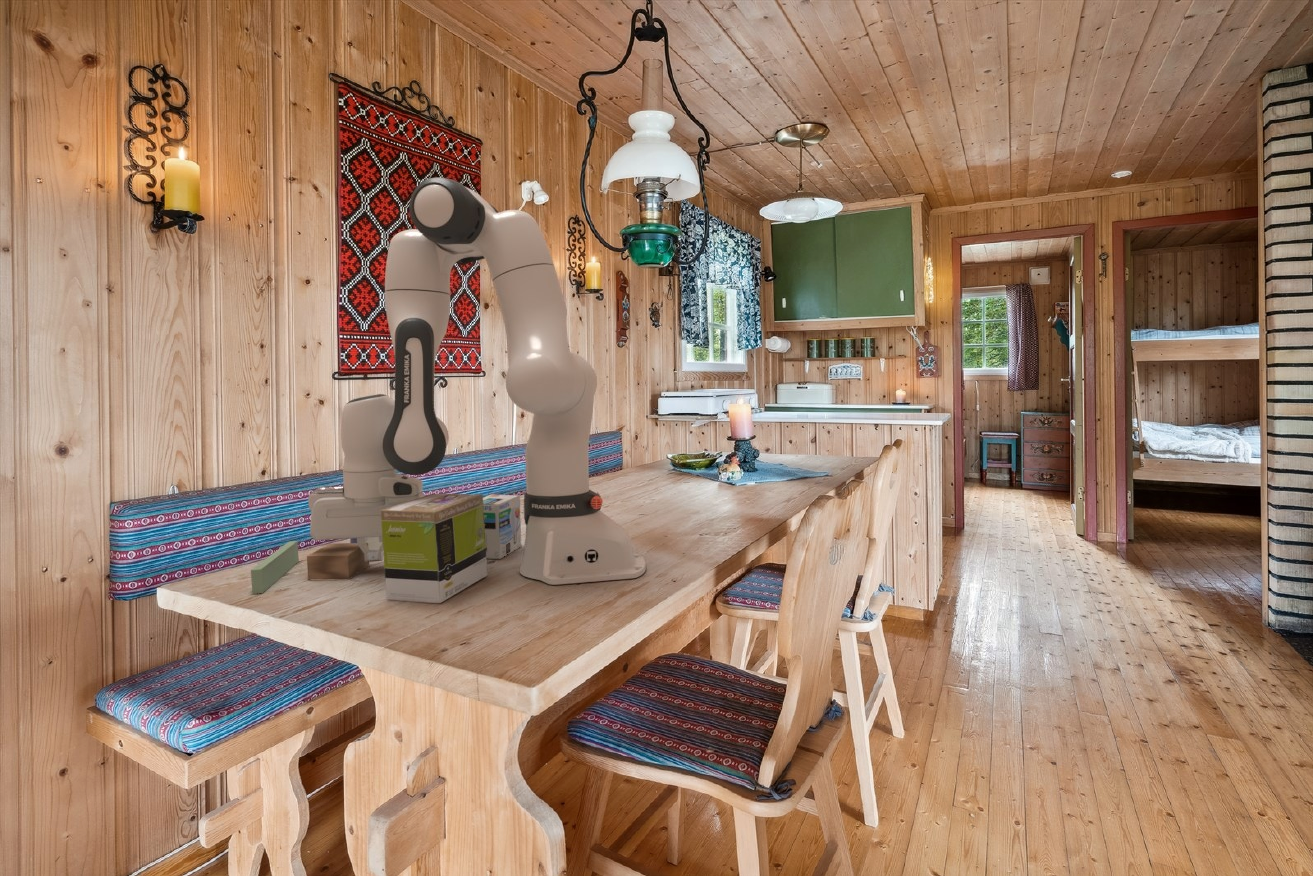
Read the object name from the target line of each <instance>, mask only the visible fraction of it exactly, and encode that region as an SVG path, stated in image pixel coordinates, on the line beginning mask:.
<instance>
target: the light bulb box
mask: <svg viewBox="0 0 1313 876" xmlns="http://www.w3.org/2000/svg"><path fill="white" fill-rule="evenodd" d="M483 510H484V526H485V542H486V558H487V559H491V560H492V559H493V560H501V559H502V558H505V557H506V556H508V555H510V554H511V553H513V552H515V551H516V550H518V549H520V548H522V528H521V527H522V526H521V520H522V519H521V496H520V495H514V494H513V495H512V494H511V495H508V494H489V495H486V496H484V497H483ZM519 547H520V548H519ZM514 550H515V551H514ZM507 554H508V555H507ZM504 556H505V557H504Z"/></svg>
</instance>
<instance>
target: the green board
mask: <svg viewBox="0 0 1313 876" xmlns="http://www.w3.org/2000/svg"><path fill="white" fill-rule="evenodd" d="M298 542H299V541H298V540H295V541H294V540H291V541H288V542H286V543H285V544H284V545H282V546H281V547H279V549H276V551H274V552H273V553H272V554H270V555H269V556H268V557H266V558H265V559H263V560H262V561H261V562H260V563H258V564H257V565H255V566H254V567H253V568H252V569H250V577H251V592H252V594H251V595H259V593H262V594H264V593H265V592H266V591H267V590H268V589H269V588H270V587H272V586H273V585H274V584H275V583H276V582H278V580H280V579H281V578H282V577H283V576H284V575H285V574H287V573H288V571H290V570H291V569H292V568H293V567H295V566H296V565H297V564H298V563H299V561H300V559H299V545H298V544H299V543H298ZM296 563H297V564H296ZM290 568H291V569H290ZM289 569H290V570H289ZM280 577H281V578H280ZM279 578H280V579H279ZM264 591H265V592H264ZM263 592H264V593H263ZM257 593H258V594H257Z"/></svg>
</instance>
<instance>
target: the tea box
mask: <svg viewBox="0 0 1313 876" xmlns="http://www.w3.org/2000/svg"><path fill="white" fill-rule="evenodd" d="M483 498H484V497H483V494H479V493H477V494H470V493H469V494H468V493H463V494H462V493H430V494H428V495H427V494H426V495H425V496H424V497H421V498H418V499H415V500H412V501H408V502H405V503H402V504H399V505H396V506H393V507H390V508H387V509H383V510H381V525H382V536H383V551H384V553H383V564H384V575H385V576H384V577H385V579H384V580H385V581H384V583H385V593H386V599H387V600H388V601H397V602H409V603H422V604H423V603H425V604H427V603H428V604H441V603H443V602H445V601H446V600H448V599H450V598H451V597H453V596H455V595H456V594H458V593H460V592H461V591H463V590H465V589H466V588H469V587H470V586H472V585H473V584H475V583H477V582H479V581H481V580H482V579H484V578H486V577H487V576H488V562H487V559H488V558H486V542H485V526H484V510H483Z"/></svg>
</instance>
